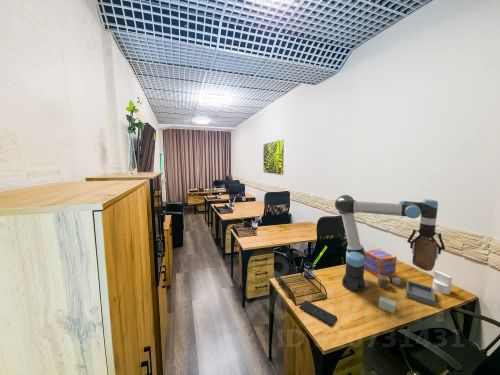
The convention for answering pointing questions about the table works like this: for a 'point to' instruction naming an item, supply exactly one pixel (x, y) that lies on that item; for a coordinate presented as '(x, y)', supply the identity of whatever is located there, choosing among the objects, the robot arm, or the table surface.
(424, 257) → the block
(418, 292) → the tray
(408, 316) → the table surface
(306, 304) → the smart home device
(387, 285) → the walnut cube
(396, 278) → the grey puck
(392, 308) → the sage brick
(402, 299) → the table surface
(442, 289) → the white phone stand
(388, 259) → the game box
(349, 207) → the robot arm
